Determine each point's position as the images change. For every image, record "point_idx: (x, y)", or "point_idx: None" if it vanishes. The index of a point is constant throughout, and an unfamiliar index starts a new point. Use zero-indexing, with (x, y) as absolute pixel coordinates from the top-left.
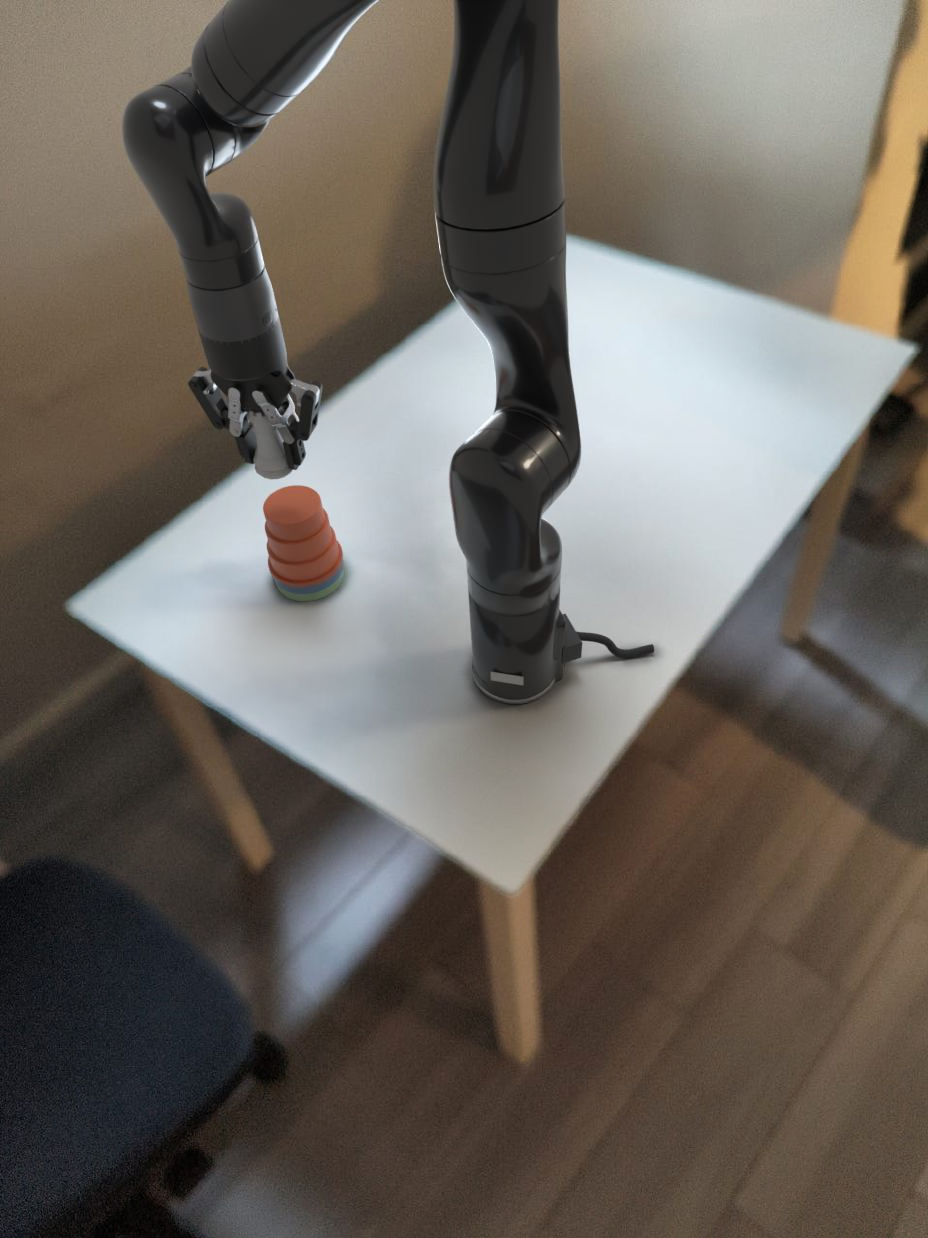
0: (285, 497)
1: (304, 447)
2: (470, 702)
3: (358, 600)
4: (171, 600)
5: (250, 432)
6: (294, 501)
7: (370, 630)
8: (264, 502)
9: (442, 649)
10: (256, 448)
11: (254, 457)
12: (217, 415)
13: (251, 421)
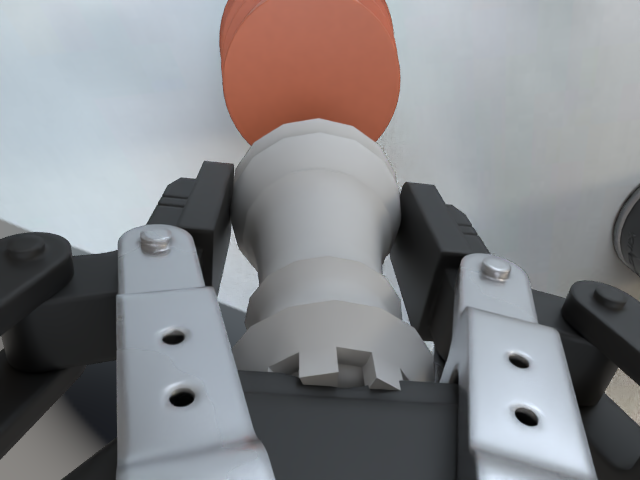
0: (283, 58)
1: (475, 231)
2: (600, 274)
3: (418, 96)
4: (49, 135)
5: (215, 261)
6: (316, 74)
7: (447, 165)
8: (223, 86)
9: (570, 190)
10: (247, 243)
11: (244, 253)
12: (34, 420)
13: None
